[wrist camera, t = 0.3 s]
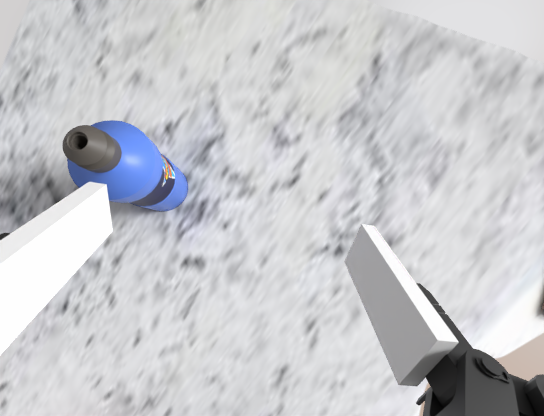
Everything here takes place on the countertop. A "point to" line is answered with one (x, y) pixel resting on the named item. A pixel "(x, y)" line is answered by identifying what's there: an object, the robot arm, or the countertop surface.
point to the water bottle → (124, 165)
